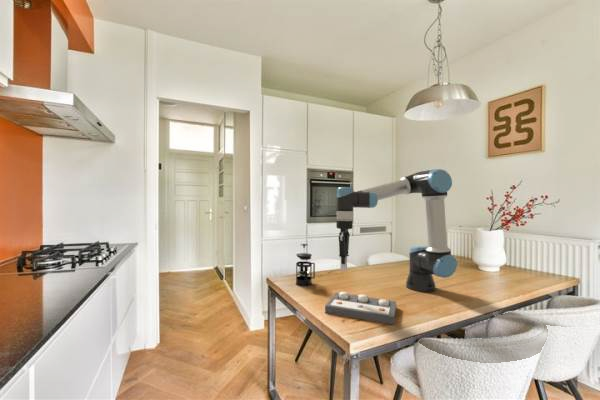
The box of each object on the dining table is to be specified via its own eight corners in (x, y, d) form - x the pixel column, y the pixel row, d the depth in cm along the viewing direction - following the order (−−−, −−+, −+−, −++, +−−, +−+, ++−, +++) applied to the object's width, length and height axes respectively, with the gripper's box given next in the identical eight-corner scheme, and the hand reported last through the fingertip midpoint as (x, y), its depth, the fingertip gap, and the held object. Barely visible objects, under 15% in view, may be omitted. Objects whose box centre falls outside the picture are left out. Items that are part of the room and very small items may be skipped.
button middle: (368, 302, 124) (368, 295, 124) (367, 305, 120) (367, 298, 120) (359, 300, 126) (359, 293, 126) (357, 303, 122) (357, 296, 122)
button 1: (349, 299, 128) (349, 292, 128) (347, 302, 124) (347, 295, 124) (340, 297, 130) (340, 291, 130) (337, 300, 125) (337, 294, 125)
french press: (296, 287, 151) (297, 245, 151) (292, 282, 160) (293, 243, 160) (316, 285, 154) (317, 245, 154) (311, 280, 163) (312, 242, 163)
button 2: (389, 307, 121) (389, 300, 121) (388, 310, 117) (388, 303, 117) (379, 305, 123) (379, 298, 123) (377, 309, 119) (378, 301, 119)
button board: (396, 307, 122) (396, 300, 122) (393, 324, 106) (393, 315, 106) (336, 298, 133) (336, 291, 133) (325, 312, 117) (325, 304, 117)
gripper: (340, 219, 134) (339, 266, 134) (333, 220, 122) (332, 272, 122) (355, 219, 131) (354, 268, 131) (349, 221, 119) (348, 274, 119)
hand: (343, 270), depth 127 cm, fingers closed
